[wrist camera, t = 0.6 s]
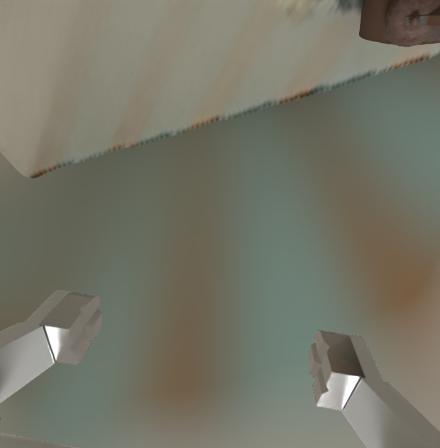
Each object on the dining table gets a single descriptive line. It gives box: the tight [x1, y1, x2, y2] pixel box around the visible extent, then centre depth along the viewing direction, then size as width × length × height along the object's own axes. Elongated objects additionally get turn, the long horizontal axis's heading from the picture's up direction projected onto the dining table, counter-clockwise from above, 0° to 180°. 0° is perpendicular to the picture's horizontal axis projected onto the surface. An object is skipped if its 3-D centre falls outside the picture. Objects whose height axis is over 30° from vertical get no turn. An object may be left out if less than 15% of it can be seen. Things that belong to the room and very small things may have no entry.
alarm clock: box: [359, 0, 440, 47], centre depth 31 cm, size 14×7×20 cm, turn 97°
